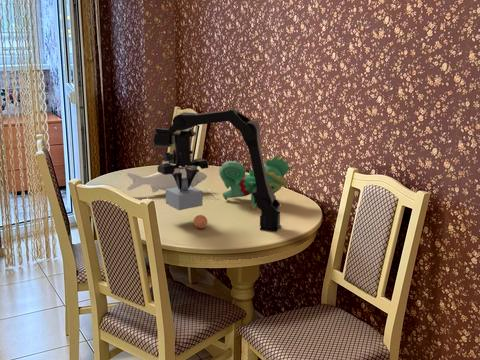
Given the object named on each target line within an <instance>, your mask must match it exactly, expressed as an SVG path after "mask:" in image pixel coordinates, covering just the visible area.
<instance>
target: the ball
mask: <svg viewBox="0 0 480 360" xmlns="http://www.w3.org/2000/svg"><path fill="white" fill-rule="evenodd" d="M207 224H208V219H207V217H206V216H205V215H203V214H198V215H196V216H195V217H194V218H193V225H194V227H196V229H200V230H201V229H204V228H206V226H207Z"/></svg>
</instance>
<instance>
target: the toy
mask: <svg viewBox="0 0 480 360" xmlns="http://www.w3.org/2000/svg"><path fill="white" fill-rule="evenodd" d="M289 163H290V161H289V160H285V159H284V156H281V157H279V158H278V156H277V155H274V156H273V157H272V158H271V159H270V158H267V159H266V162H265V163H264V167H265V172H266V176H267V181H268V183H269V185H270V187H271V189H272V191H273V194H274V196H275V199H276V198H277V197H276V195H275V194H276V193H277V192H279V191H280V190H281V189H282V187H286V186H287V187H288V186H290V184H289V183H288V181H287V180H285V179H283V177H285V175H287V173H288V172H289V171H290V170H291V169H292V168H293V167H292V166H291V165H289ZM218 171H219V173H218V174H219V176H220V179H221V180H222V182H223V184H224V186H225V188H226V189H227V191H224V192H222V197H223V198H224V200H225V201H227V200H228V199H233V198H234V199H235V198H241V197H242V198H243V197H247V196H249V195H250V200H251V201H250V202H251V204H250V205H251V208H252V210H253V211H255V210H256V207H257V204H256V203H255V204H254V202H255V199H254V196H253V192H254V190H255V189H256V181H255V176H254V172H253V168H252V169H250V168H249V171H248V173H249V174H246V173H247V170H246V168H245V166H244V165H243V164H242V163H240V162H238V161H236V160H235V161H233V160H228V161H226V162H224V163H223V164H221V166H220V167H219V169H218ZM276 200H277V199H276Z"/></svg>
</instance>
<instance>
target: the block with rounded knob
mask: <svg viewBox="0 0 480 360" xmlns="http://www.w3.org/2000/svg"><path fill="white" fill-rule="evenodd" d="M202 201H203V190H200V189H199V188H196V187H192V186H190V187H189V188H188V178H182V184H181V190H179V189H178V187H175V188H169V189H166V190H165V205H168V206H170V207H171V208H174V209H176V210H177V211H182V210H183V211H184V210H188V209H193V208H198V207H203V206H204V205H203V203H204V202H202Z"/></svg>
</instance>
